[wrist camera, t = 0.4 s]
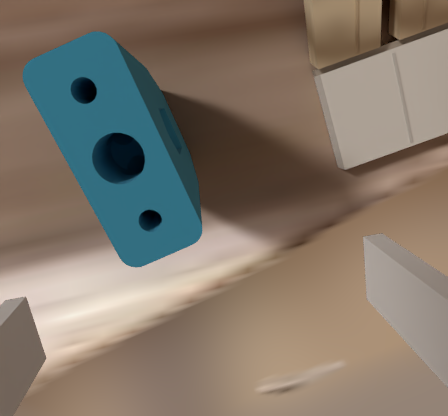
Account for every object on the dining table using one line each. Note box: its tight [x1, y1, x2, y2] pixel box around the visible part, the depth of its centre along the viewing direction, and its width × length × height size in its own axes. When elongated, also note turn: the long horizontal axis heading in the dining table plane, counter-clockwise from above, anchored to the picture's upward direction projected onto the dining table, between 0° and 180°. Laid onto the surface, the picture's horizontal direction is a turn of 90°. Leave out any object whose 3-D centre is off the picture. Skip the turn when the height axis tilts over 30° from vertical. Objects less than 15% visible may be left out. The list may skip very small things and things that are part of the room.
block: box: [23, 32, 202, 267], centre depth 30 cm, size 12×5×20 cm, turn 23°
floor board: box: [312, 23, 448, 170], centre depth 39 cm, size 11×15×2 cm
